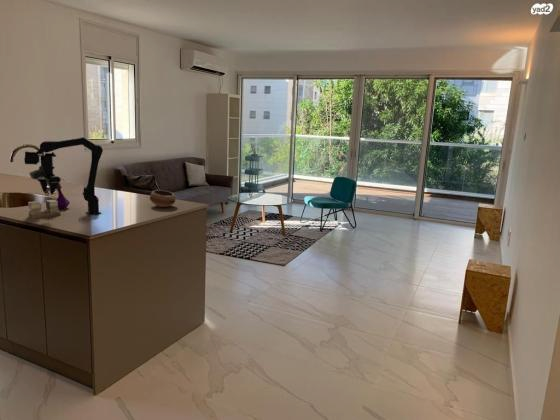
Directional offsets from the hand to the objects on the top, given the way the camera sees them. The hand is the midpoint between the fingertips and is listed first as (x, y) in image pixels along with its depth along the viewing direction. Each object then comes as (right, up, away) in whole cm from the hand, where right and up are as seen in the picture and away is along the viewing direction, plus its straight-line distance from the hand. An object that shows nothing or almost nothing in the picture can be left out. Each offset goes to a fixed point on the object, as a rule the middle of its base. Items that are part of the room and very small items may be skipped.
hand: (48, 193), depth 240 cm
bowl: (+52, -7, +41) cm, 66 cm away
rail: (-2, -13, 0) cm, 13 cm away
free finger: (+1, -10, +2) cm, 10 cm away
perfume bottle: (-2, -9, +19) cm, 21 cm away
